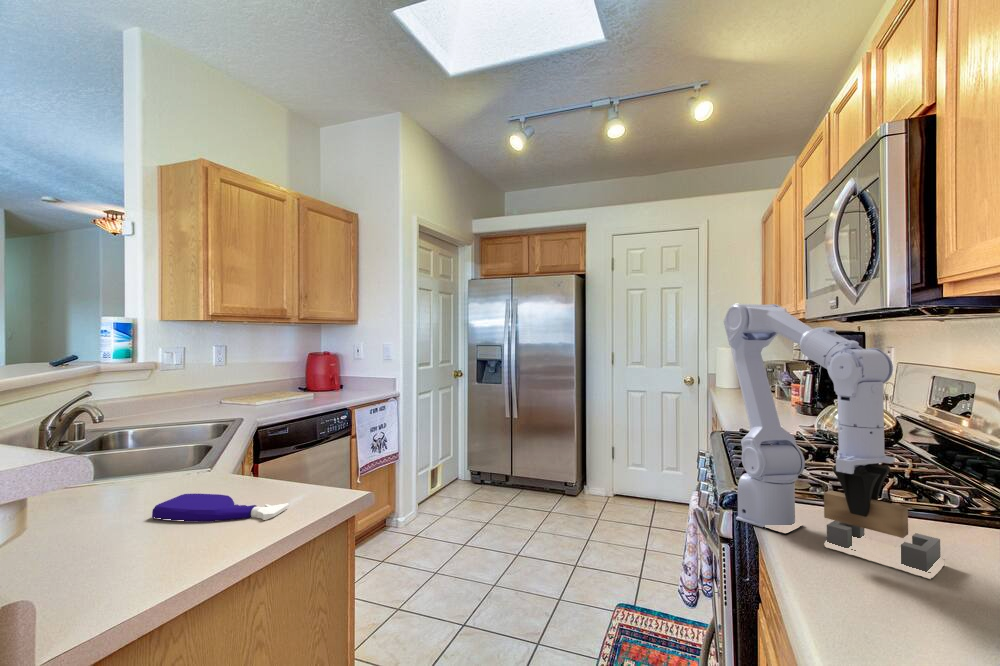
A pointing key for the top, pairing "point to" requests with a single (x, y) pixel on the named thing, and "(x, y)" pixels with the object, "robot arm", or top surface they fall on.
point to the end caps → (912, 555)
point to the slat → (878, 519)
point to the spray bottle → (212, 508)
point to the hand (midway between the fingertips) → (862, 512)
